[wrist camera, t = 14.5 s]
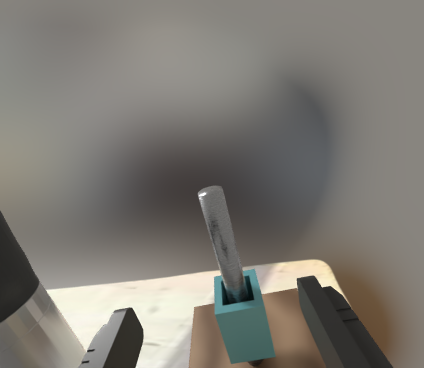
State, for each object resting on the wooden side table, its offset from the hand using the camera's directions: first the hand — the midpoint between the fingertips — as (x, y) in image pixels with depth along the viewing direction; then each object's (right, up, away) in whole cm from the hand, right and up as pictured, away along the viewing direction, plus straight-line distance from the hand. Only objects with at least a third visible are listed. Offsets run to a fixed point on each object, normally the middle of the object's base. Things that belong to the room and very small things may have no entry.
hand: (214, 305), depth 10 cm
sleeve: (+5, -14, +16) cm, 22 cm away
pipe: (+5, -17, +17) cm, 25 cm away
